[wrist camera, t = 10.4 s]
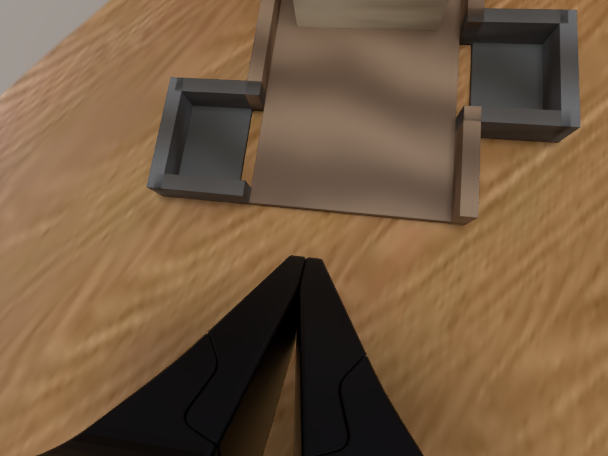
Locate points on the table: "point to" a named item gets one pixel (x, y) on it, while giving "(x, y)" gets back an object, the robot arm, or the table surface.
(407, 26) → the maple block
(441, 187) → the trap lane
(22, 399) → the table surface
